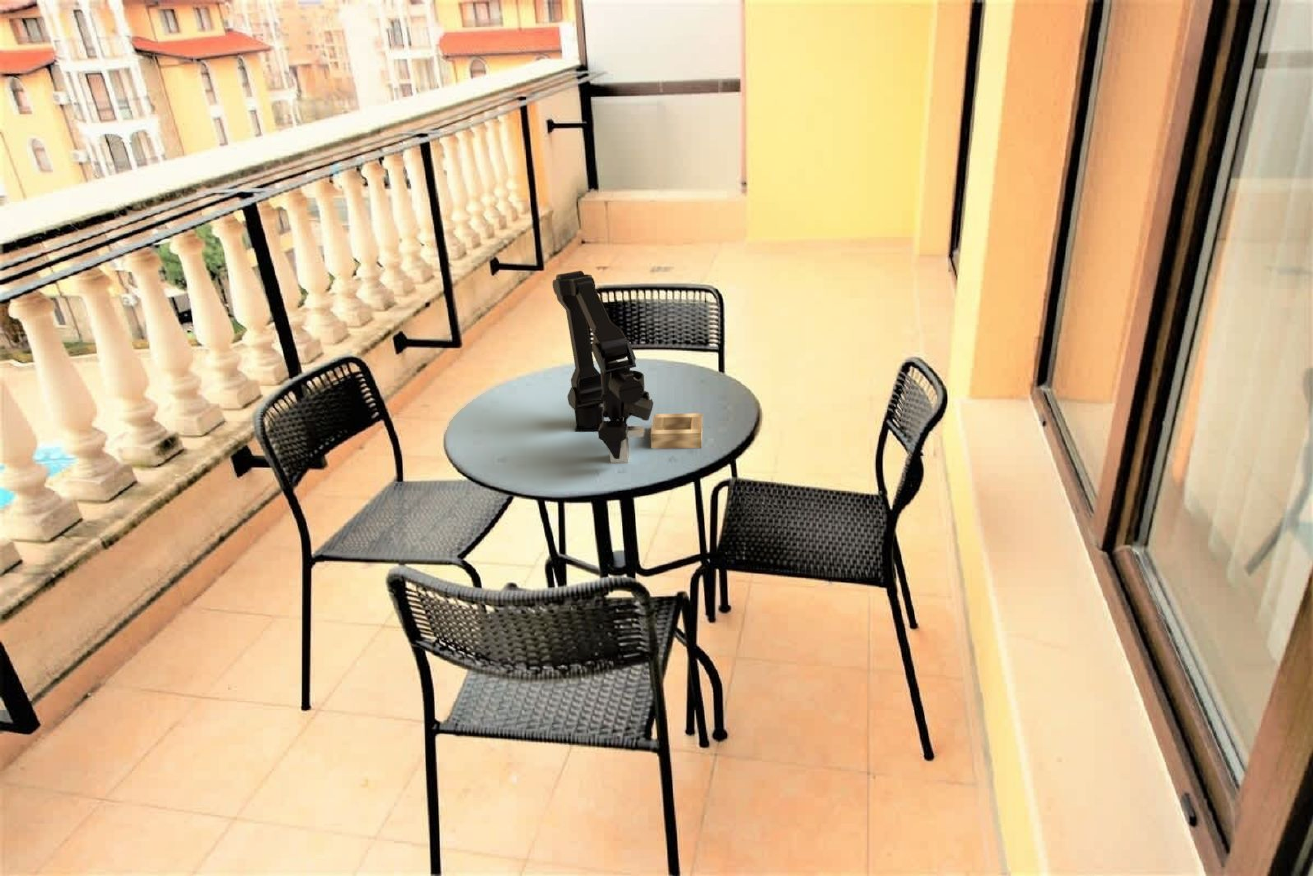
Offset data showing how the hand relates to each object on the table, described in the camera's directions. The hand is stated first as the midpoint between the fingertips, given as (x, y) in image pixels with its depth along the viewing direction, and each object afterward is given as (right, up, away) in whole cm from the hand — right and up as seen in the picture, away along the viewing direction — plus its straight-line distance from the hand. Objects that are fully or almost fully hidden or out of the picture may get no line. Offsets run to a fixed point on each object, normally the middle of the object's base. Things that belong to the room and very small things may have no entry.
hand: (619, 449), depth 197 cm
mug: (+2, +9, +24) cm, 26 cm away
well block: (+14, +3, +9) cm, 17 cm away
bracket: (+2, -2, +1) cm, 3 cm away
